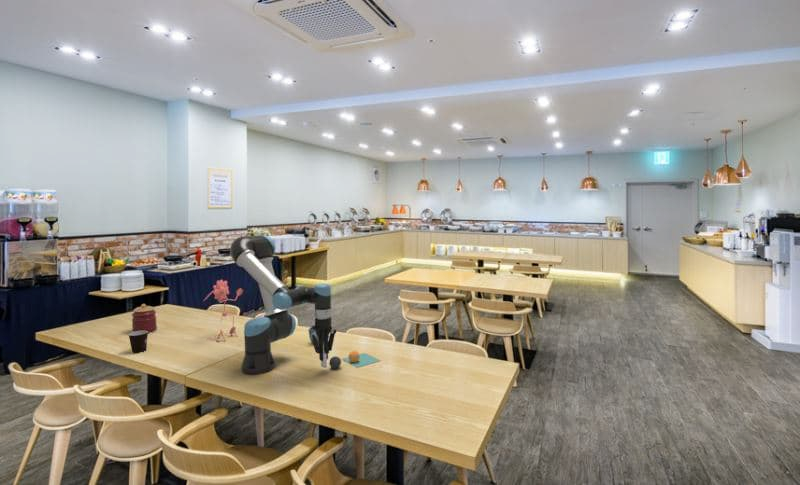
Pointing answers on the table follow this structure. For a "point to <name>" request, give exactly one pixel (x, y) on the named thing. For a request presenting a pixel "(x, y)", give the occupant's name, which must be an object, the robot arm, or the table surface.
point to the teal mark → (362, 360)
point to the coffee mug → (138, 341)
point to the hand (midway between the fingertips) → (323, 366)
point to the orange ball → (354, 356)
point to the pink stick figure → (220, 293)
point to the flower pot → (311, 330)
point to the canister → (144, 319)
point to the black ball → (335, 362)
